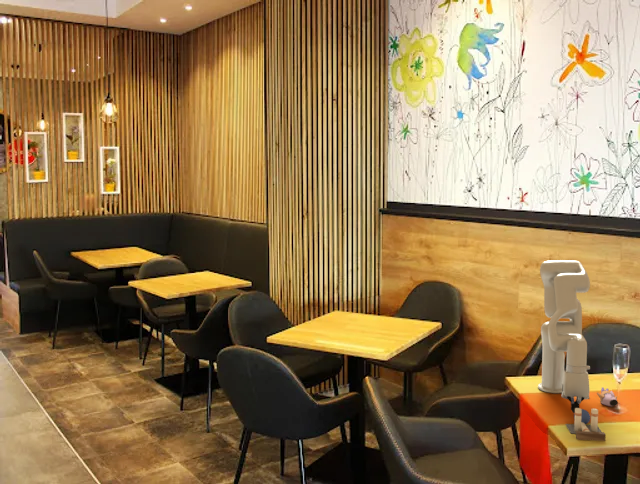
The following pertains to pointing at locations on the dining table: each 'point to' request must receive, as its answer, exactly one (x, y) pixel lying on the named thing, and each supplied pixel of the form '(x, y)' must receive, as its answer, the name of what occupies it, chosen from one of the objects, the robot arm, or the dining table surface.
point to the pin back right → (577, 419)
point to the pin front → (584, 427)
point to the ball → (584, 417)
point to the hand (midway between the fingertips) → (574, 412)
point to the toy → (607, 397)
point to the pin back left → (594, 420)
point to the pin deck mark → (571, 429)
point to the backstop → (590, 435)
